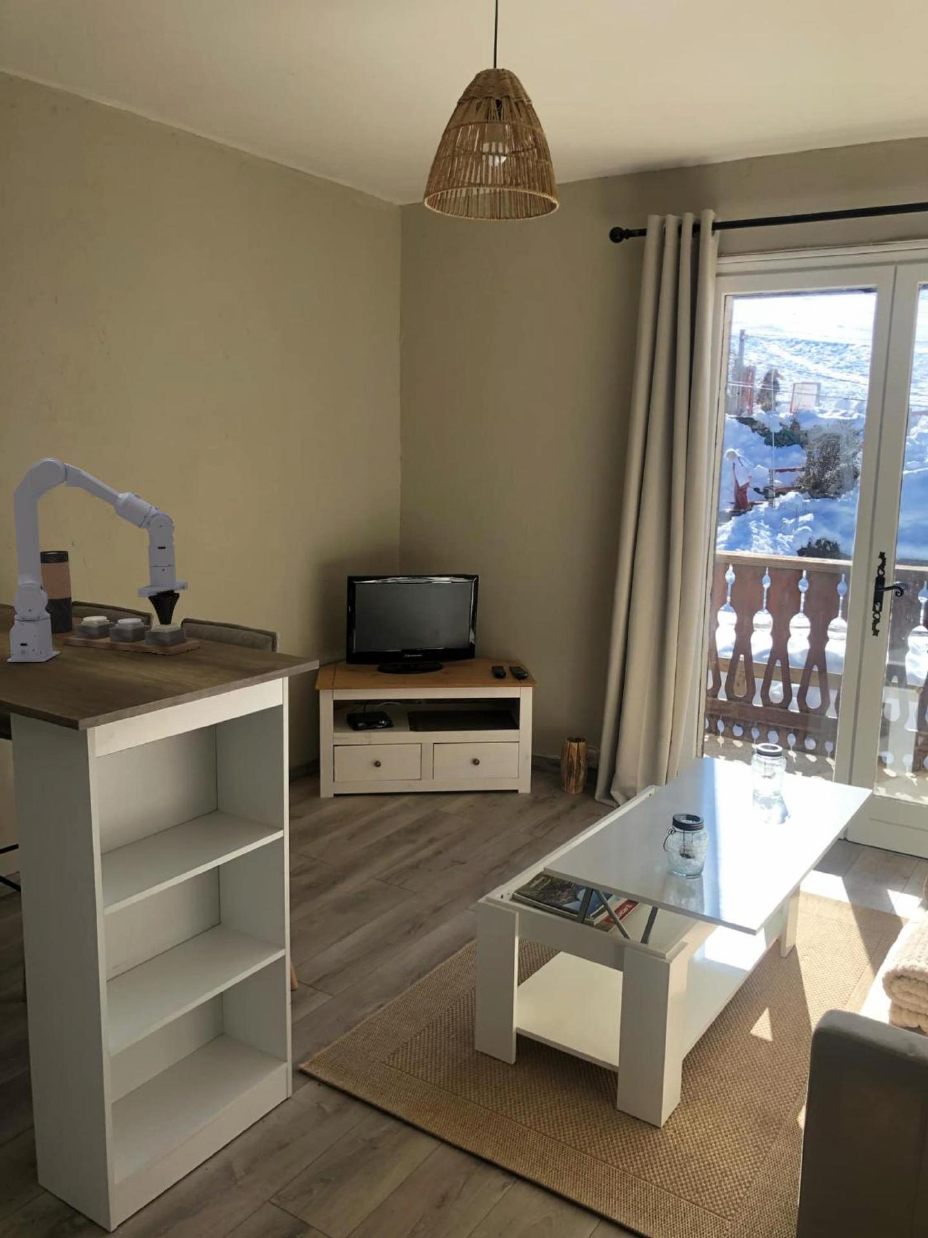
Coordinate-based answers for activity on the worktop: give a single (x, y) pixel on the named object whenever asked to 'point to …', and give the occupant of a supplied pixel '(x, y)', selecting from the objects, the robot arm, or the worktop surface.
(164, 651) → the knob backing plate
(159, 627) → the knob
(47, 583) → the travel mug
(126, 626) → the knob
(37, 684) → the worktop surface
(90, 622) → the knob
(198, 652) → the worktop surface
